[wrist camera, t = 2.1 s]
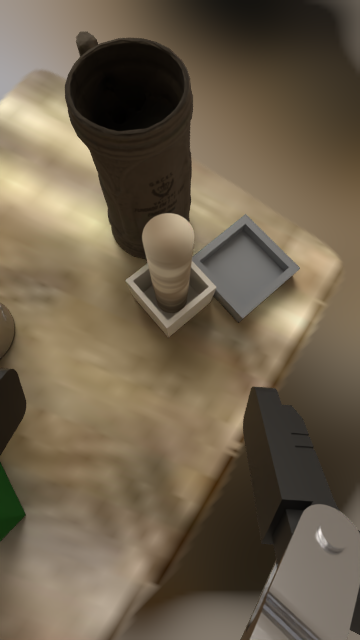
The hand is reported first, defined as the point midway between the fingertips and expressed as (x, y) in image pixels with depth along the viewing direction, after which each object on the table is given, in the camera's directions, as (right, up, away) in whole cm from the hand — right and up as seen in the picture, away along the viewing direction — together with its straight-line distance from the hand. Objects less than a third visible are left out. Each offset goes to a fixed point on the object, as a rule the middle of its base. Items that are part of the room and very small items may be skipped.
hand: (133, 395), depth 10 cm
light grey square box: (+1, +5, +28) cm, 29 cm away
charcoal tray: (+10, +9, +29) cm, 32 cm away
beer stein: (-4, +18, +31) cm, 36 cm away
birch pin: (+1, +5, +28) cm, 28 cm away
